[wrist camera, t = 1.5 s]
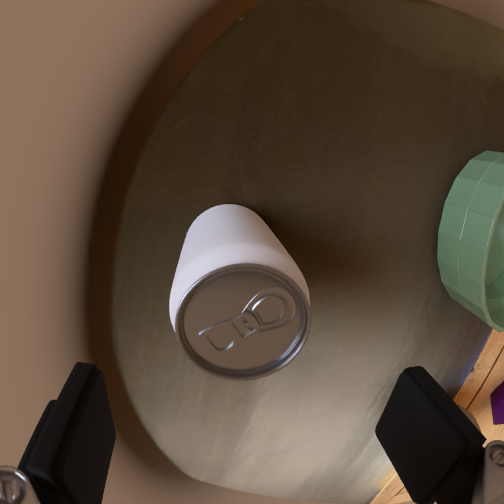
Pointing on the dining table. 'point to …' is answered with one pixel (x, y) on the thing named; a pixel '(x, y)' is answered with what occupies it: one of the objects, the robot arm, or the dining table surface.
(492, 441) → the robot arm
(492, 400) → the purple potion bottle
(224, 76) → the dining table surface
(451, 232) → the green faceted bowl
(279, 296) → the can
